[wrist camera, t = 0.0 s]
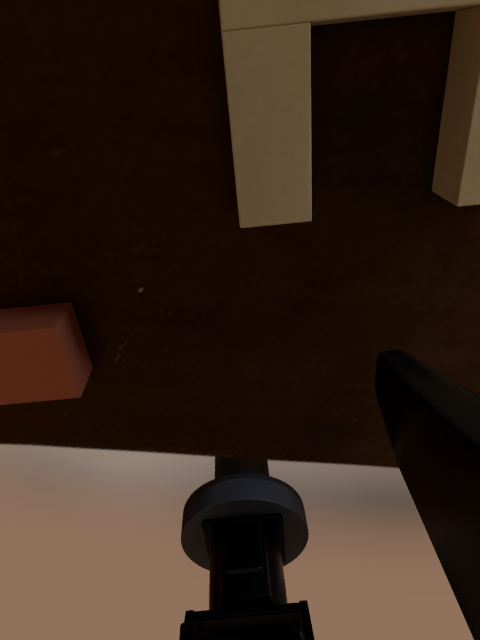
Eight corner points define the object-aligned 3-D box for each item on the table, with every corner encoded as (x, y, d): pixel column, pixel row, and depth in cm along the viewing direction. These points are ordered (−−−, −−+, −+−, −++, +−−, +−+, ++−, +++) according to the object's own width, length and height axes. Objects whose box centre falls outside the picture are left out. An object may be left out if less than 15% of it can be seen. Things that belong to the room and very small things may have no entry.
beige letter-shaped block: (495, 184, 23) (530, 199, 21) (237, 210, 24) (240, 228, 21) (592, -279, 15) (669, -349, 13) (196, -233, 15) (191, -292, 13)
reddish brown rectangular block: (71, 301, 26) (54, 327, 23) (93, 367, 29) (80, 397, 26) (-43, 312, 26) (-73, 339, 24) (-12, 377, 29) (-34, 408, 26)
